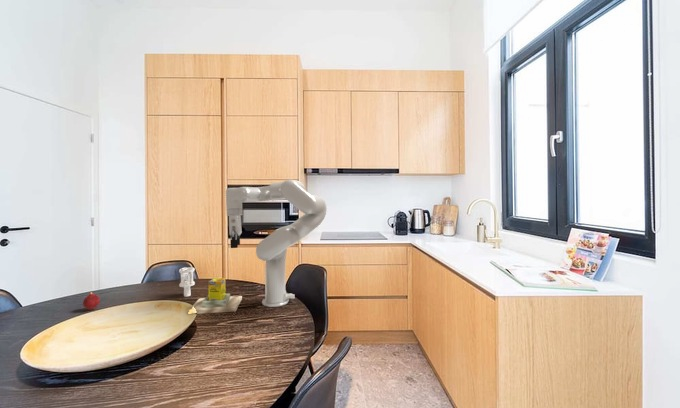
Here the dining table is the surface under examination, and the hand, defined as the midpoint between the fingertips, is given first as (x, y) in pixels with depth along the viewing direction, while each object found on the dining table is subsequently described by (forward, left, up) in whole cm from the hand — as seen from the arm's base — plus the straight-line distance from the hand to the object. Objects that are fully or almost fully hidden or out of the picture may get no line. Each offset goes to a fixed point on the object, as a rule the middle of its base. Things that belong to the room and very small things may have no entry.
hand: (235, 246), depth 142 cm
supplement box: (+7, +8, -25) cm, 27 cm away
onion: (+62, +4, -27) cm, 68 cm away
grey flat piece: (+7, +9, -27) cm, 29 cm away
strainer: (+26, -9, -27) cm, 38 cm away
